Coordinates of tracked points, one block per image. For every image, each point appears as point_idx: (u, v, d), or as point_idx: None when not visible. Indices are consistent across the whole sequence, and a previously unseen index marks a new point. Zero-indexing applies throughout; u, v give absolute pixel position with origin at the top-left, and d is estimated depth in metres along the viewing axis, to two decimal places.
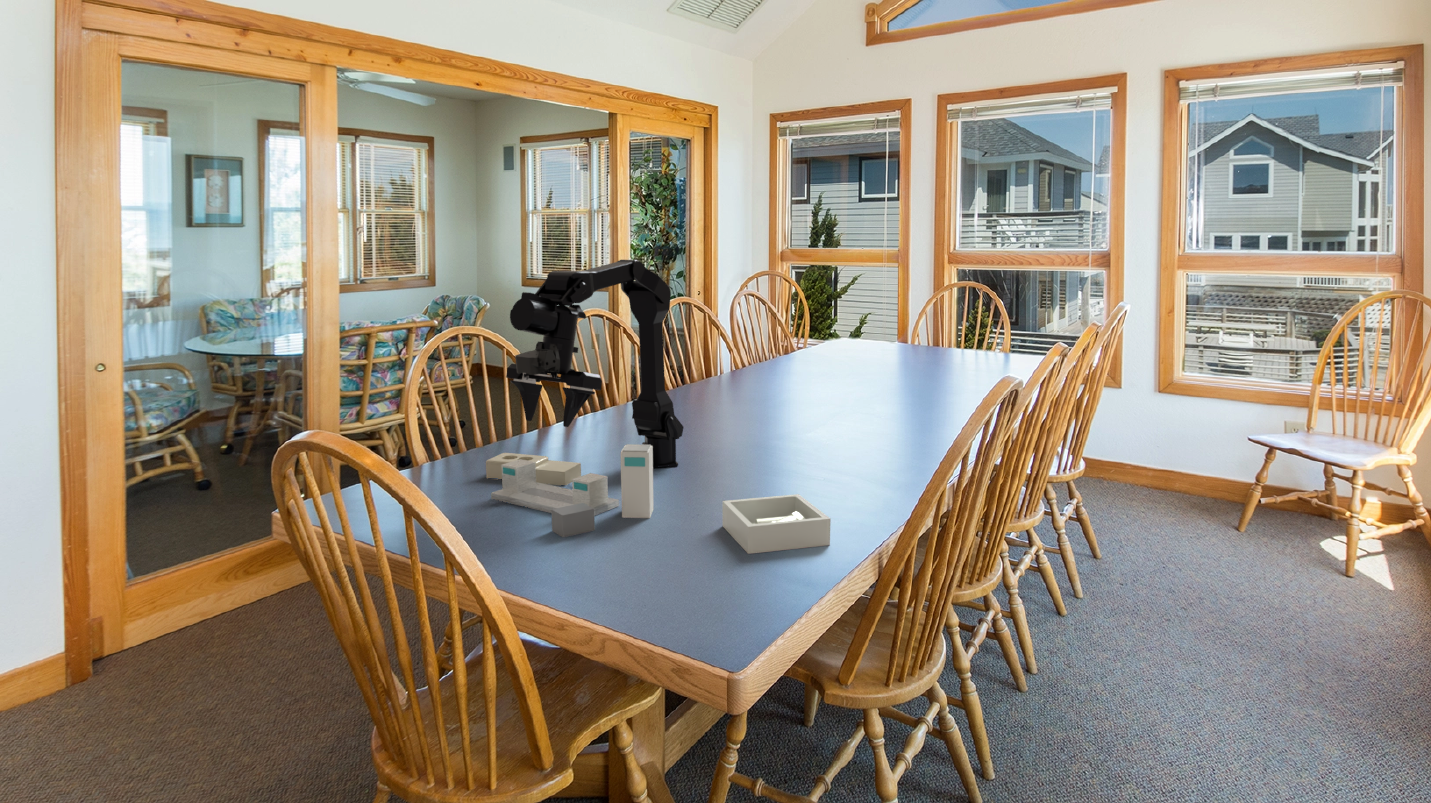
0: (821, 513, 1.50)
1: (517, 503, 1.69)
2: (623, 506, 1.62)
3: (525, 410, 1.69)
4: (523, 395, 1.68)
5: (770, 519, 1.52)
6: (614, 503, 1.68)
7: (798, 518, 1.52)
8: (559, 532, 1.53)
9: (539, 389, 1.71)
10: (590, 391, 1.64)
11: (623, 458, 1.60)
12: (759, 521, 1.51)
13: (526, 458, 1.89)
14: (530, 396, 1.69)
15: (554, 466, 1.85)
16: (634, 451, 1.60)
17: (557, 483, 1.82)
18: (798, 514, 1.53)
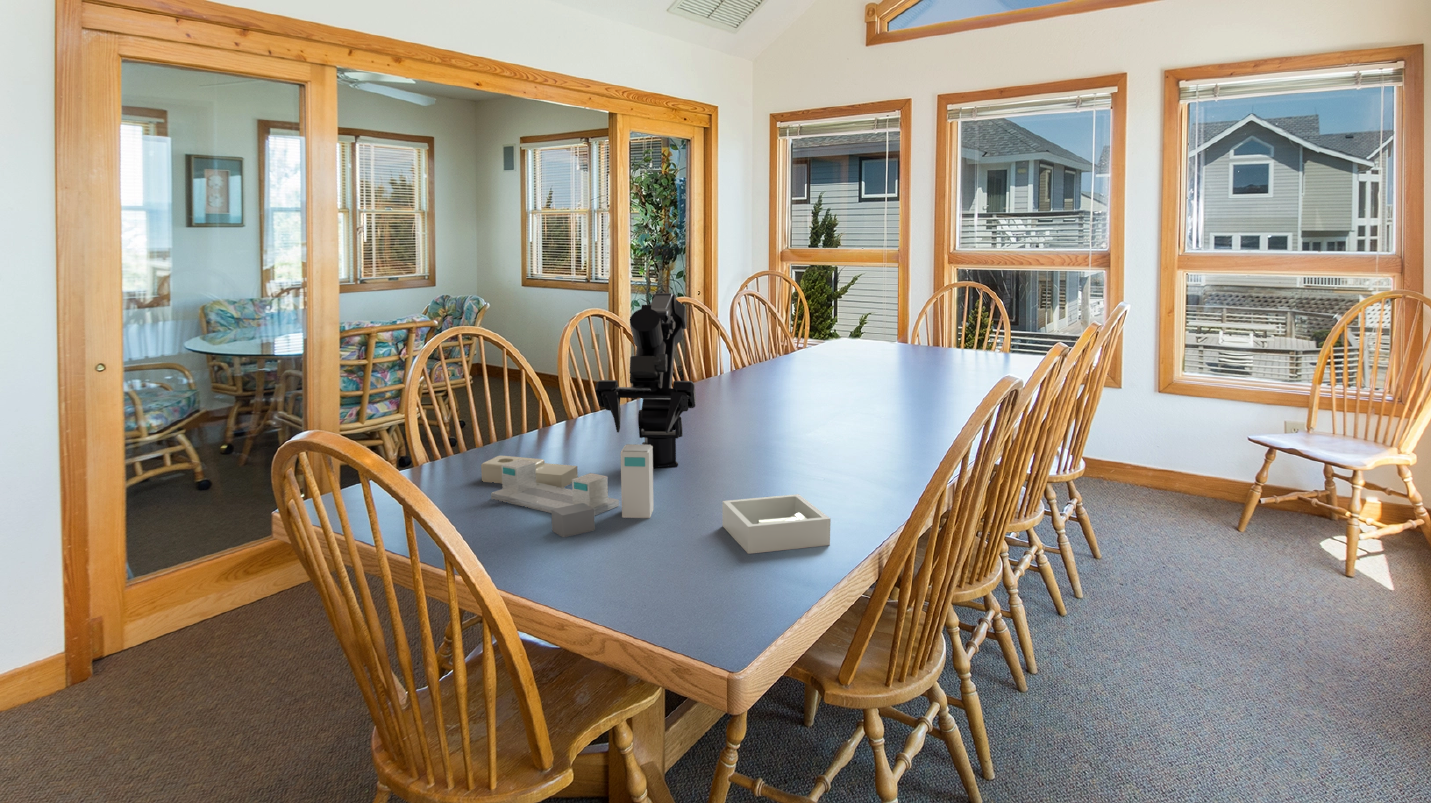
0: (821, 513, 1.50)
1: (517, 503, 1.69)
2: (623, 506, 1.62)
3: (616, 420, 1.70)
4: (615, 407, 1.71)
5: (772, 520, 1.51)
6: (614, 503, 1.68)
7: None
8: (559, 532, 1.53)
9: (620, 410, 1.75)
10: (687, 405, 1.74)
11: (623, 458, 1.60)
12: (761, 522, 1.51)
13: None
14: None
15: (551, 469, 1.83)
16: (634, 451, 1.60)
17: None
18: (801, 515, 1.53)
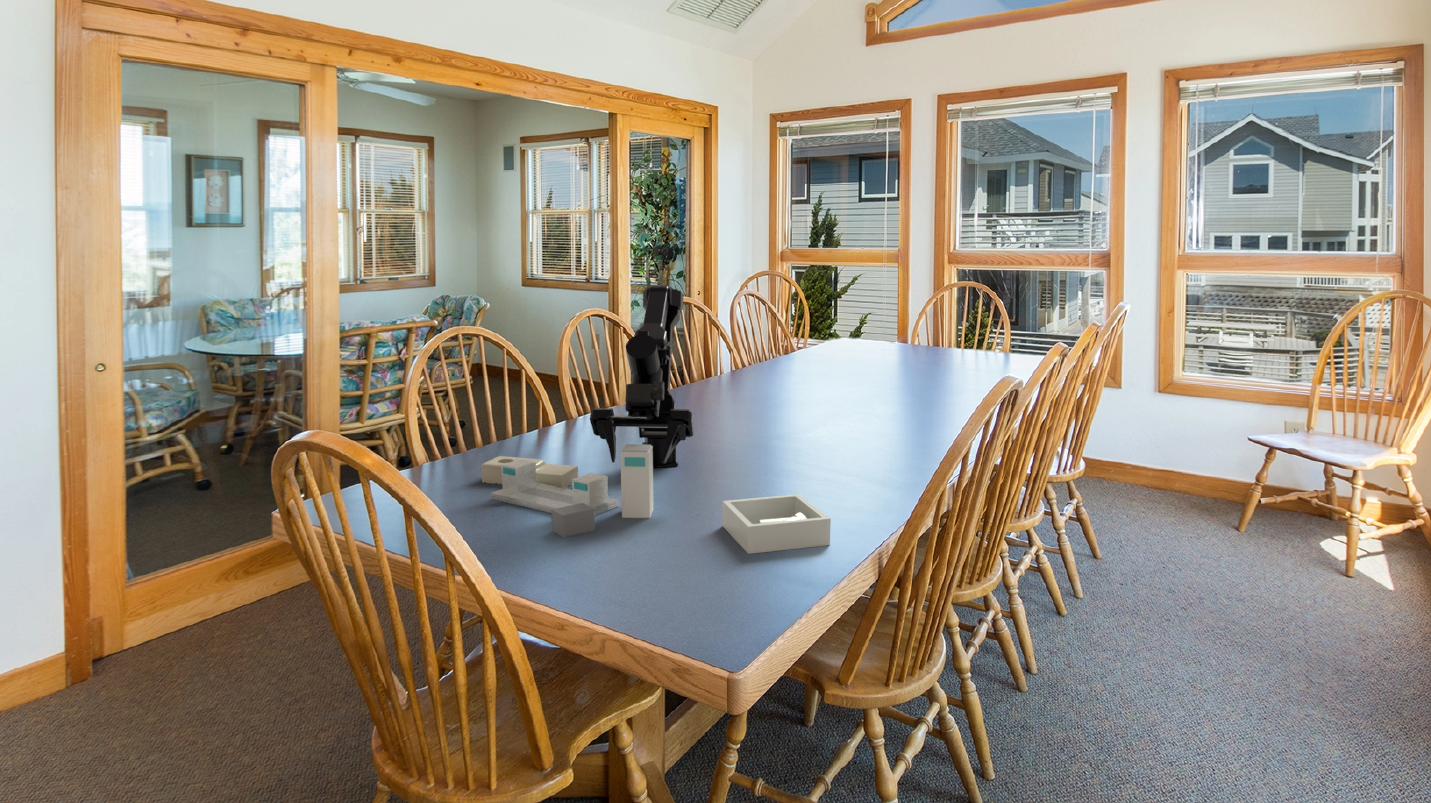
0: (821, 513, 1.50)
1: (517, 503, 1.69)
2: (623, 506, 1.62)
3: (611, 450, 1.65)
4: (610, 436, 1.66)
5: (773, 520, 1.51)
6: (614, 503, 1.68)
7: None
8: (559, 532, 1.53)
9: (615, 438, 1.70)
10: (685, 434, 1.69)
11: (623, 458, 1.60)
12: (762, 522, 1.51)
13: None
14: (613, 440, 1.67)
15: (551, 469, 1.83)
16: (634, 451, 1.60)
17: None
18: (802, 515, 1.53)
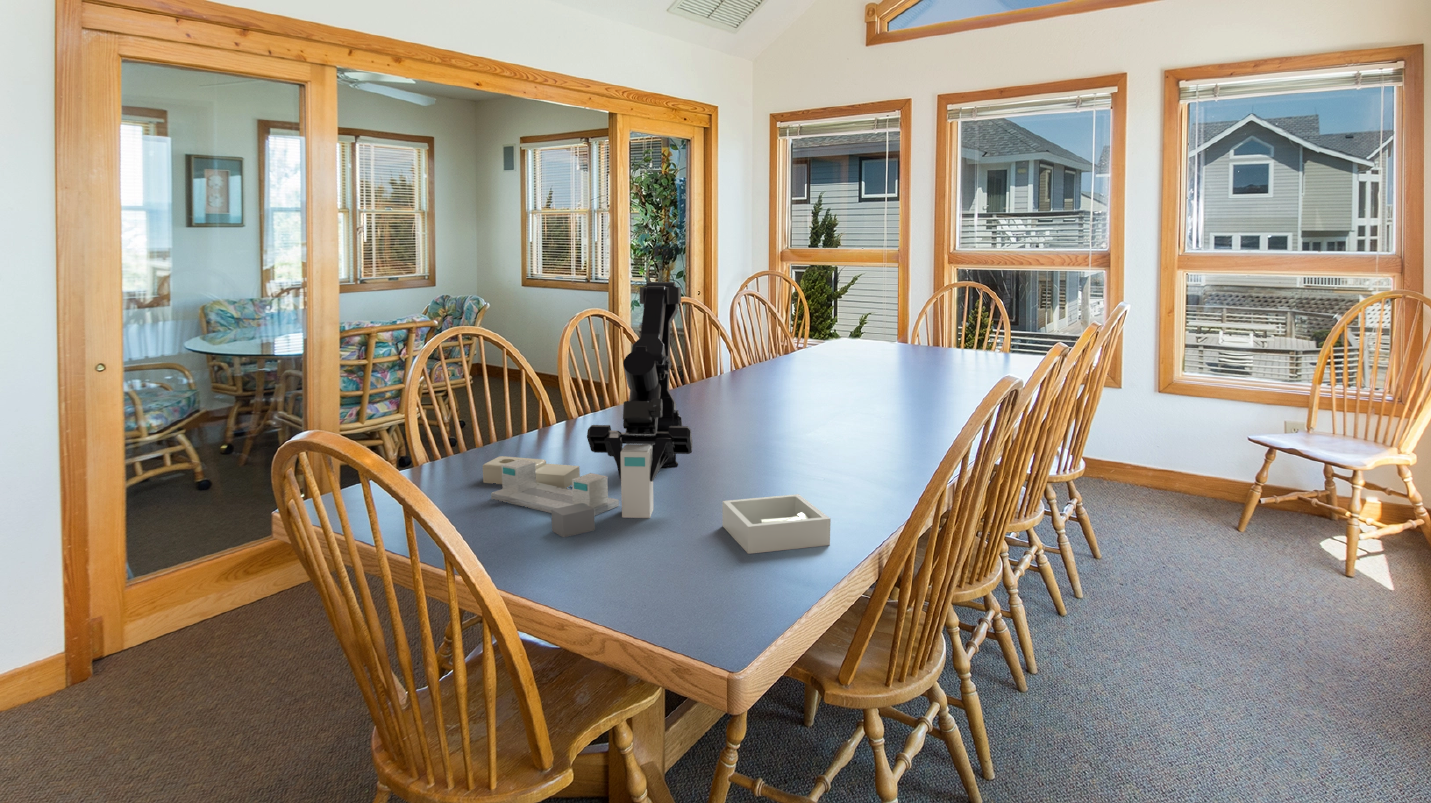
0: (821, 513, 1.50)
1: (517, 503, 1.69)
2: (623, 506, 1.62)
3: (619, 468, 1.62)
4: (618, 454, 1.63)
5: (775, 520, 1.51)
6: (614, 503, 1.68)
7: None
8: (559, 532, 1.53)
9: None
10: None
11: (623, 458, 1.60)
12: (764, 521, 1.51)
13: None
14: None
15: (553, 469, 1.83)
16: (634, 451, 1.60)
17: None
18: (803, 515, 1.53)
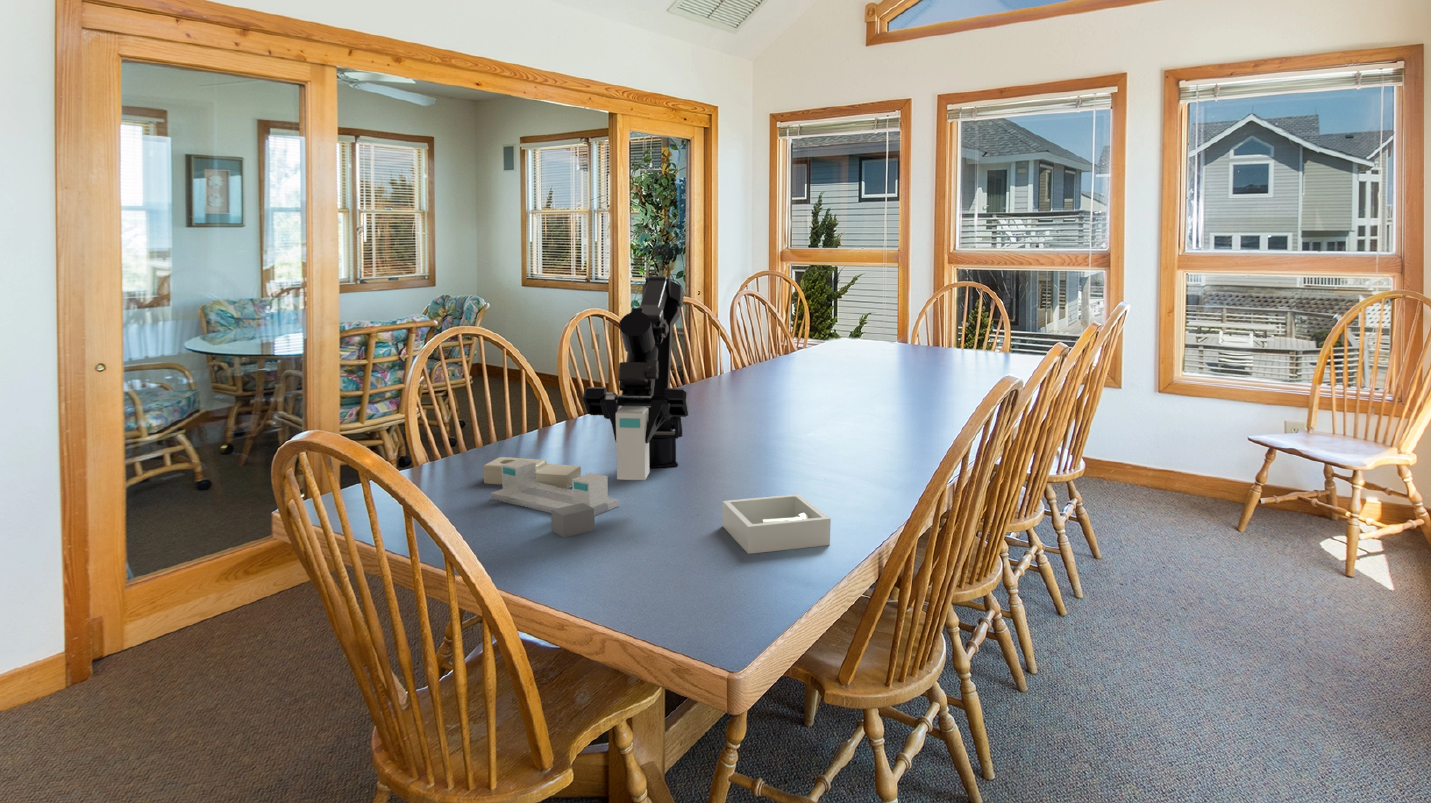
0: (821, 513, 1.50)
1: (517, 503, 1.69)
2: (618, 468, 1.61)
3: (615, 430, 1.62)
4: (613, 415, 1.63)
5: (776, 520, 1.51)
6: (614, 503, 1.68)
7: None
8: (559, 532, 1.53)
9: None
10: (669, 413, 1.66)
11: (618, 419, 1.59)
12: (765, 521, 1.51)
13: None
14: None
15: (554, 469, 1.83)
16: (629, 412, 1.59)
17: None
18: (805, 515, 1.53)
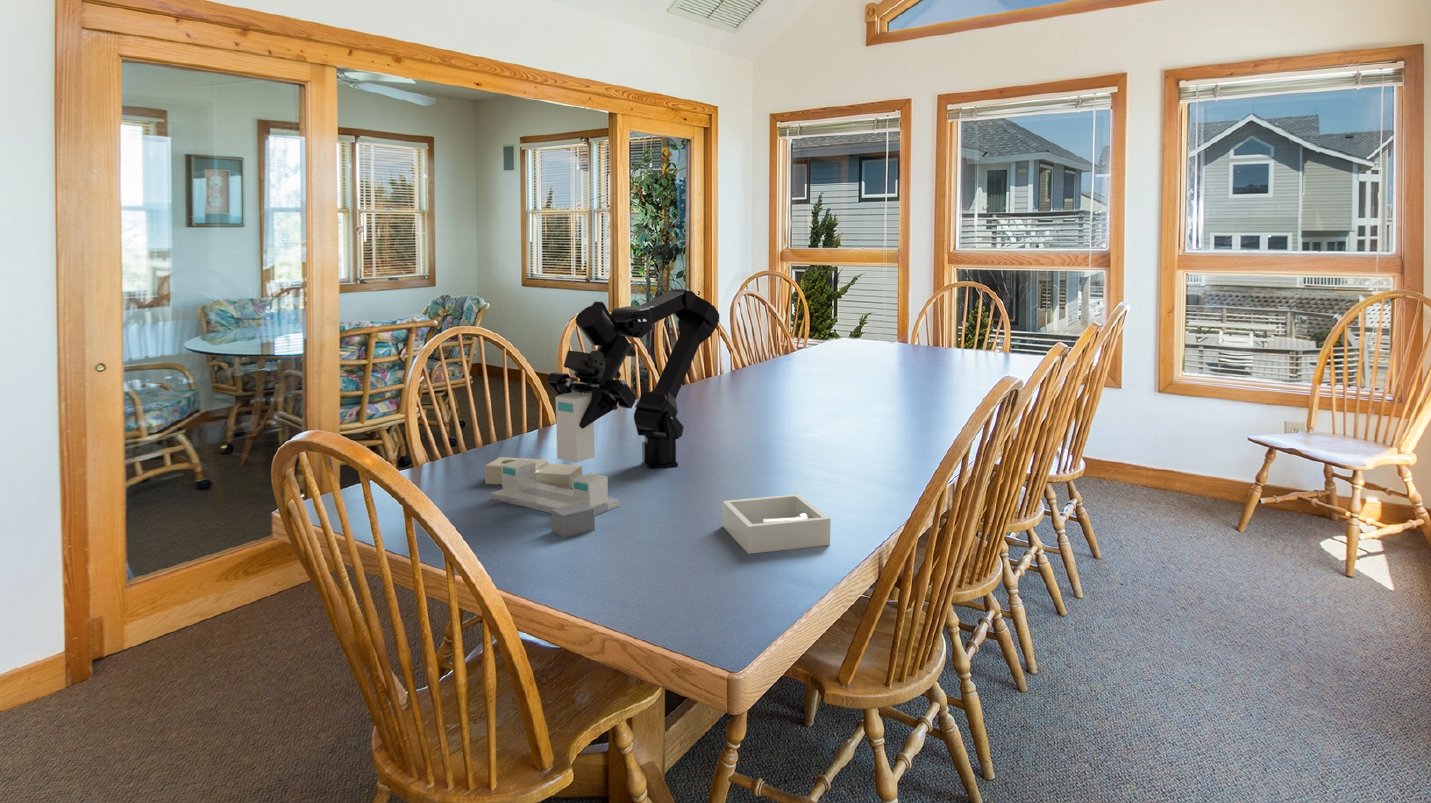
0: (821, 513, 1.50)
1: (517, 503, 1.69)
2: (558, 448, 1.73)
3: None
4: None
5: (777, 520, 1.51)
6: (614, 503, 1.68)
7: None
8: (559, 532, 1.53)
9: None
10: (614, 403, 1.73)
11: (557, 403, 1.72)
12: (765, 521, 1.51)
13: None
14: None
15: (556, 469, 1.83)
16: (565, 397, 1.71)
17: (561, 486, 1.80)
18: (806, 516, 1.53)
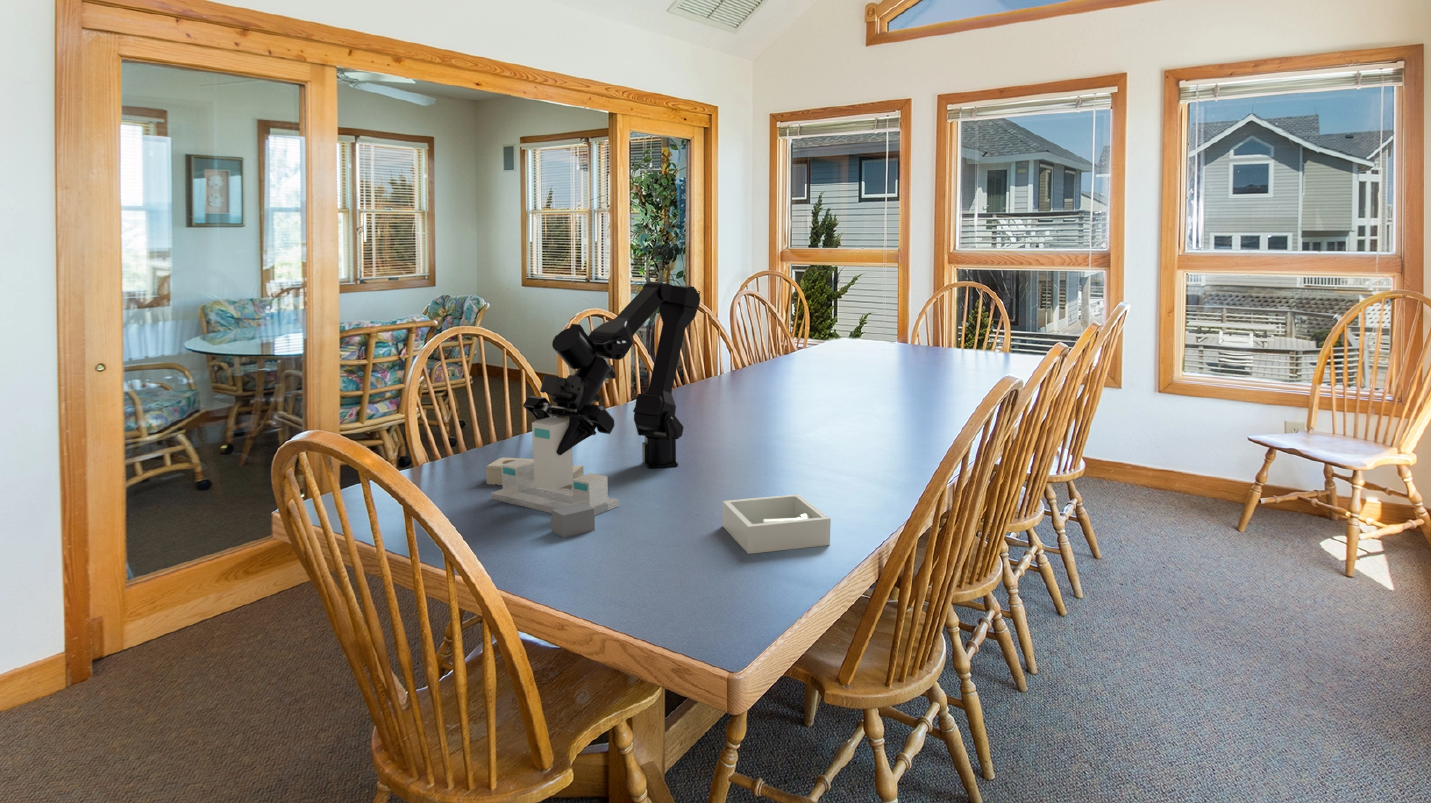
0: (821, 513, 1.50)
1: (517, 503, 1.69)
2: (535, 475, 1.69)
3: None
4: None
5: (777, 520, 1.51)
6: (614, 503, 1.68)
7: None
8: (560, 532, 1.53)
9: None
10: (592, 429, 1.69)
11: (534, 429, 1.67)
12: (765, 521, 1.51)
13: None
14: None
15: None
16: (542, 423, 1.66)
17: (563, 487, 1.80)
18: (807, 516, 1.52)
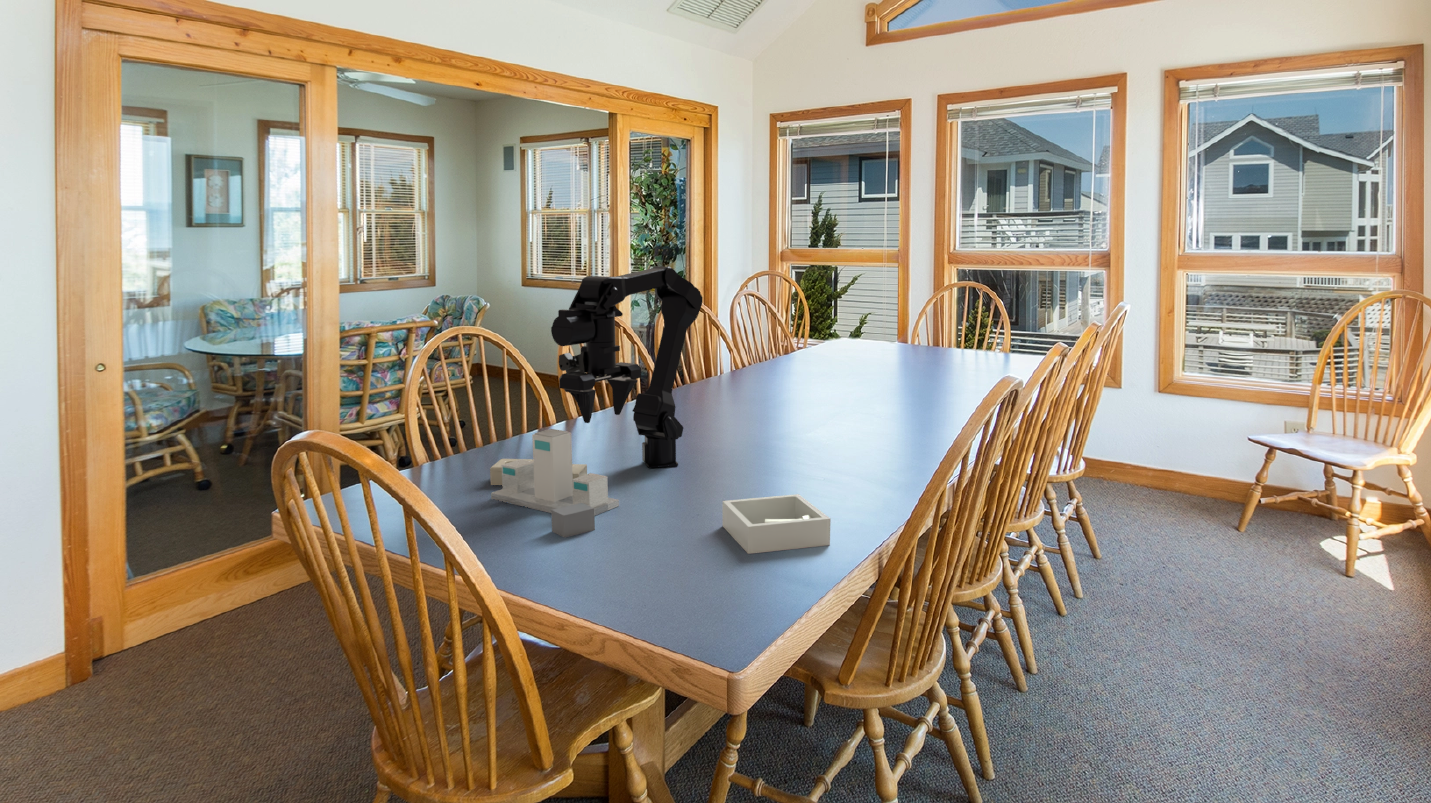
0: (821, 513, 1.50)
1: (517, 503, 1.69)
2: (535, 486, 1.69)
3: None
4: None
5: (778, 520, 1.51)
6: (614, 503, 1.68)
7: None
8: (560, 532, 1.53)
9: (625, 386, 1.84)
10: (579, 391, 1.73)
11: (534, 441, 1.68)
12: (767, 521, 1.51)
13: None
14: (617, 392, 1.85)
15: None
16: (542, 435, 1.66)
17: None
18: (809, 518, 1.52)
